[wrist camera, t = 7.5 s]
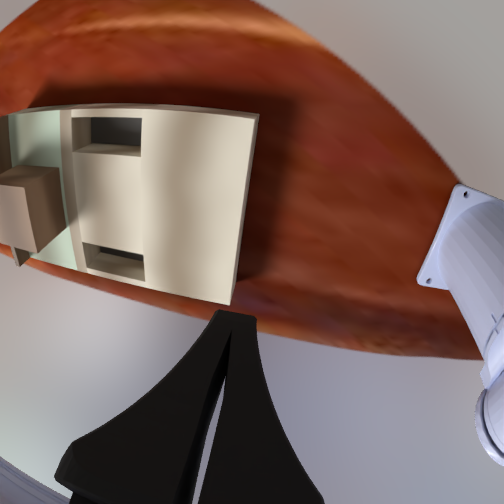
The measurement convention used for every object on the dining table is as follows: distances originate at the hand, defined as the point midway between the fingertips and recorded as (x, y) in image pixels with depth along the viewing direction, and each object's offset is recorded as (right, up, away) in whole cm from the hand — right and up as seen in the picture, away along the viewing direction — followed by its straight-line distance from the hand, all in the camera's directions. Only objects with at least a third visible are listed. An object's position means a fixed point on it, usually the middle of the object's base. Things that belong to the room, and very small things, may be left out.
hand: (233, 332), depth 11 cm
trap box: (-9, +7, +9) cm, 14 cm away
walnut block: (-14, +7, +7) cm, 17 cm away
